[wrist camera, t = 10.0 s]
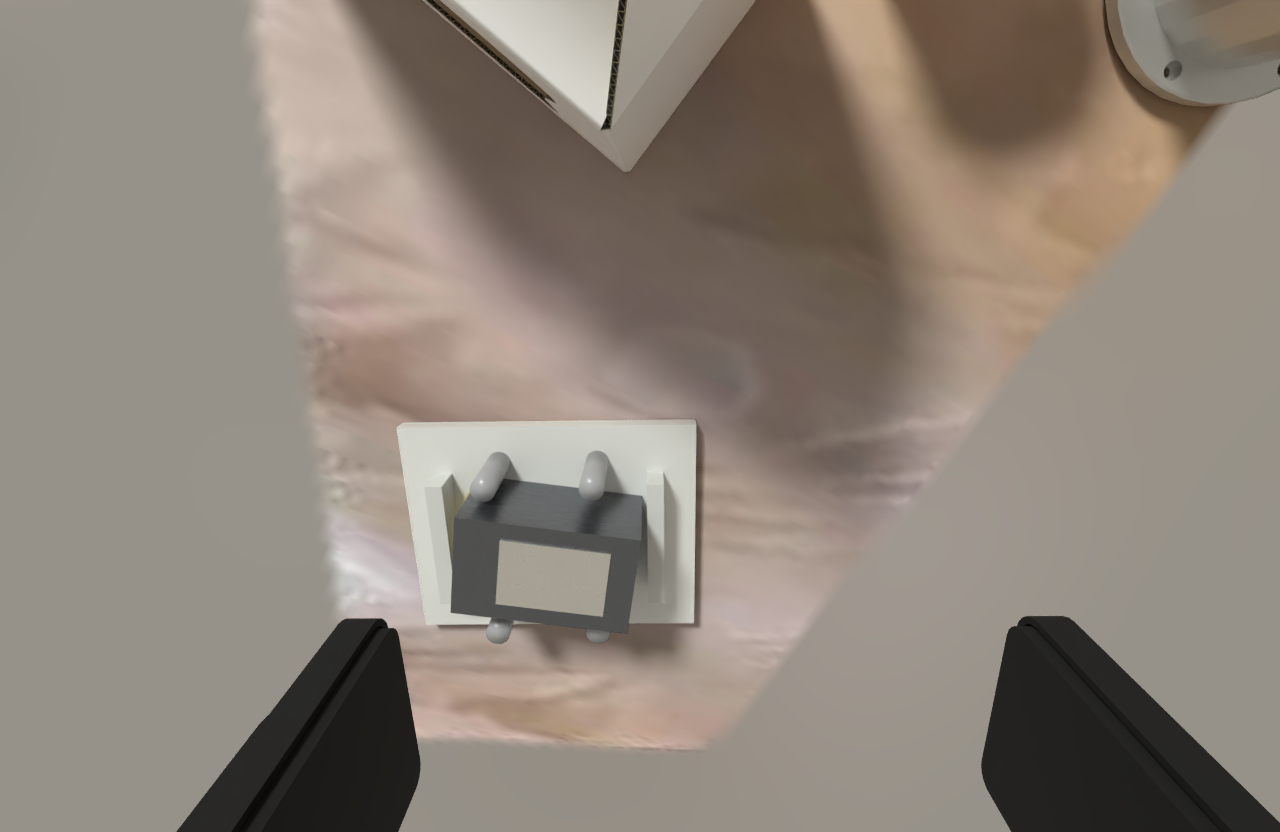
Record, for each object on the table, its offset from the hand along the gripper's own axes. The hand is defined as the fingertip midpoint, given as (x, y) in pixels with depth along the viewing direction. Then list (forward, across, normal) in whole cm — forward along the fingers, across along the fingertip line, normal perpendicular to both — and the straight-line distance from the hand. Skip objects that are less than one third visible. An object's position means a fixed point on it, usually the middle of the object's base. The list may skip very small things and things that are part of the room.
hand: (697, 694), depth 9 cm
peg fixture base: (+28, +7, +12) cm, 31 cm away
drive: (+27, +7, +12) cm, 30 cm away
